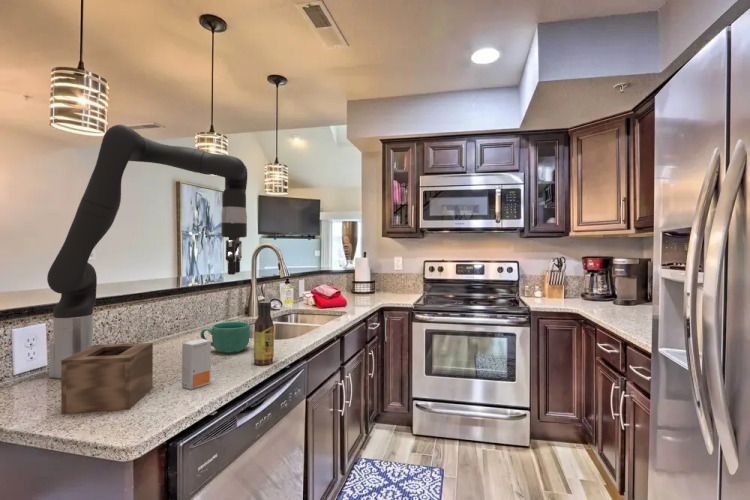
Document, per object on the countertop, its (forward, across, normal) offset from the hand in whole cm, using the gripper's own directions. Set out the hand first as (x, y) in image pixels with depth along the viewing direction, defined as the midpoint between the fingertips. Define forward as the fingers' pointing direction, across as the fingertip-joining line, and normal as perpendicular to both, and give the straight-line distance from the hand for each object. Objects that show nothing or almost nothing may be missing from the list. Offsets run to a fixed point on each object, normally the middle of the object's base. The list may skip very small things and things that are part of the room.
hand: (234, 273), depth 123 cm
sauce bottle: (+30, -2, +9) cm, 31 cm away
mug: (+30, -19, -6) cm, 36 cm away
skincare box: (+30, +16, -7) cm, 34 cm away
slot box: (+29, +23, -25) cm, 45 cm away
